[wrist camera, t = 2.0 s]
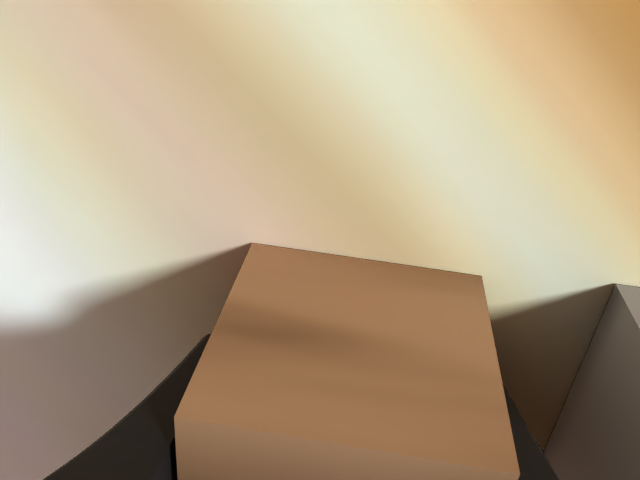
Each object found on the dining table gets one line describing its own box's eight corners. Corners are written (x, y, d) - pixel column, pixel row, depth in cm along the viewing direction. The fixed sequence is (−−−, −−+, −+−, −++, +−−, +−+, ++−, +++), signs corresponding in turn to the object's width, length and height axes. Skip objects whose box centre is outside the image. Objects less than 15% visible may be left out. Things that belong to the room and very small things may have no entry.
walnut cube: (436, 435, 15) (448, 649, 11) (246, 404, 15) (184, 599, 11) (482, 276, 12) (520, 473, 8) (251, 242, 13) (173, 416, 9)
